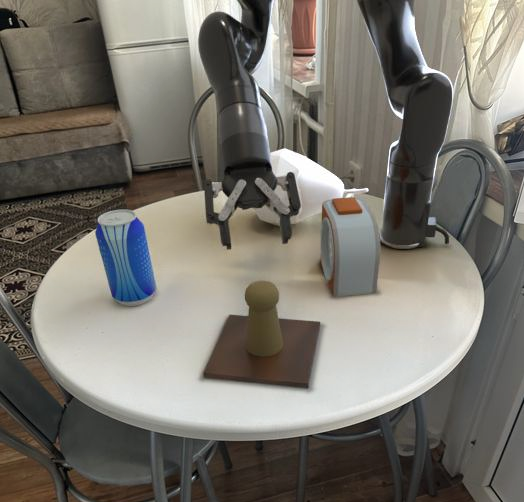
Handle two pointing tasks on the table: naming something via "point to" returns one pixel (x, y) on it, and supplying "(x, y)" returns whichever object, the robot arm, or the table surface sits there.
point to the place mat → (269, 367)
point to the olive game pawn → (263, 319)
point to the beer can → (125, 257)
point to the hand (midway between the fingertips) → (257, 245)
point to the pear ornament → (304, 186)
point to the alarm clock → (349, 246)
